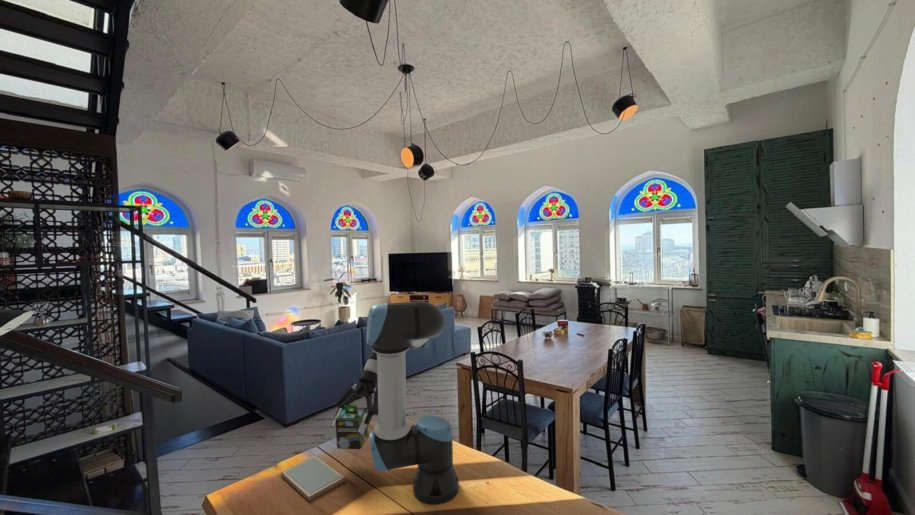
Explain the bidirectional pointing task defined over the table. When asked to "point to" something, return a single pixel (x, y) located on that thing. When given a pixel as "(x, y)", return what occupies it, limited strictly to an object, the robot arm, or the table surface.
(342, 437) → the chalk box
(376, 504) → the table surface
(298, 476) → the slate board
